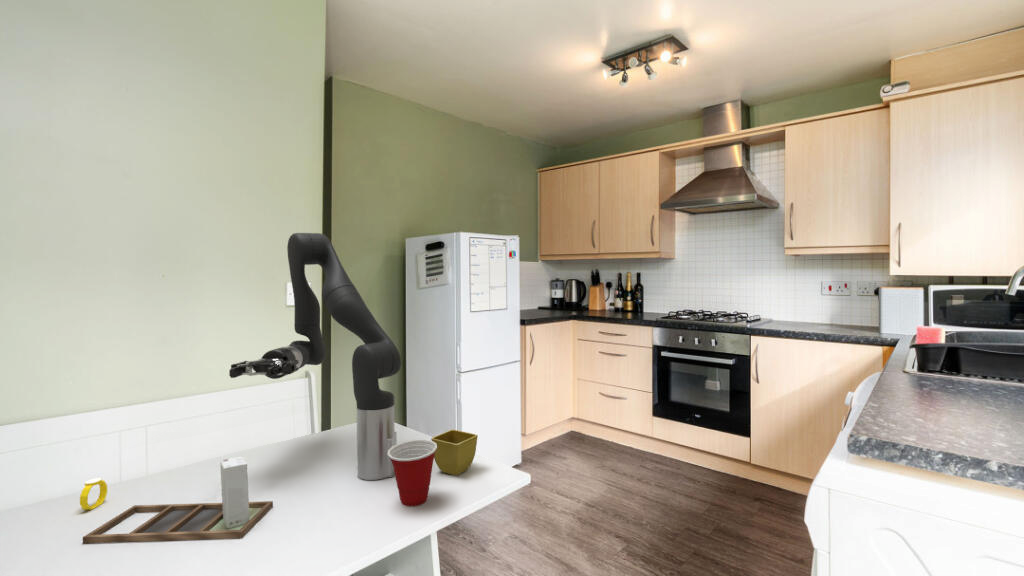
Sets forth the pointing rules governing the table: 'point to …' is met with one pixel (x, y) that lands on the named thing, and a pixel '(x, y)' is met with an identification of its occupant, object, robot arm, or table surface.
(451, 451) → the flower pot
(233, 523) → the skincare box
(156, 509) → the divided wooden frame
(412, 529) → the table surface
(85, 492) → the watch
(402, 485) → the plastic cup
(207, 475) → the table surface
